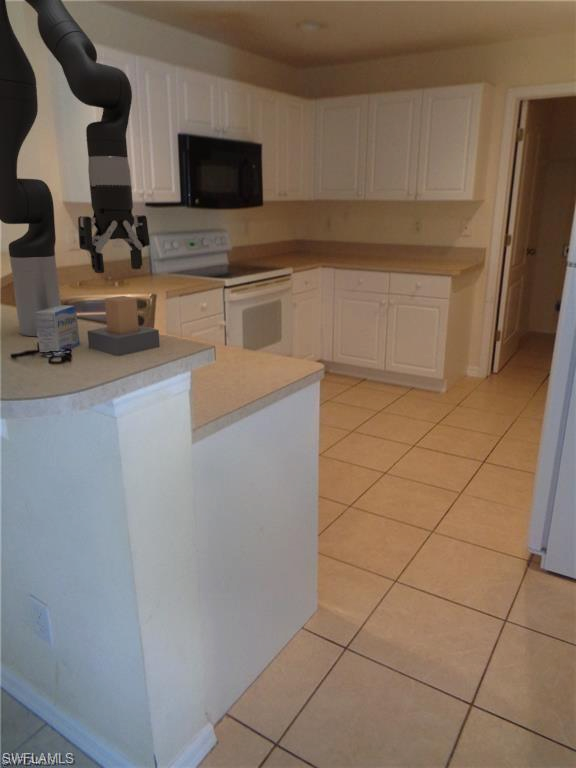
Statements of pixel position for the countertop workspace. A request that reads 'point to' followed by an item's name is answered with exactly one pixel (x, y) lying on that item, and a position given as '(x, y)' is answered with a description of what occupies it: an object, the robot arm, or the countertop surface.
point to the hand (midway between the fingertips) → (118, 270)
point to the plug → (121, 314)
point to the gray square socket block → (123, 340)
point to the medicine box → (57, 328)
